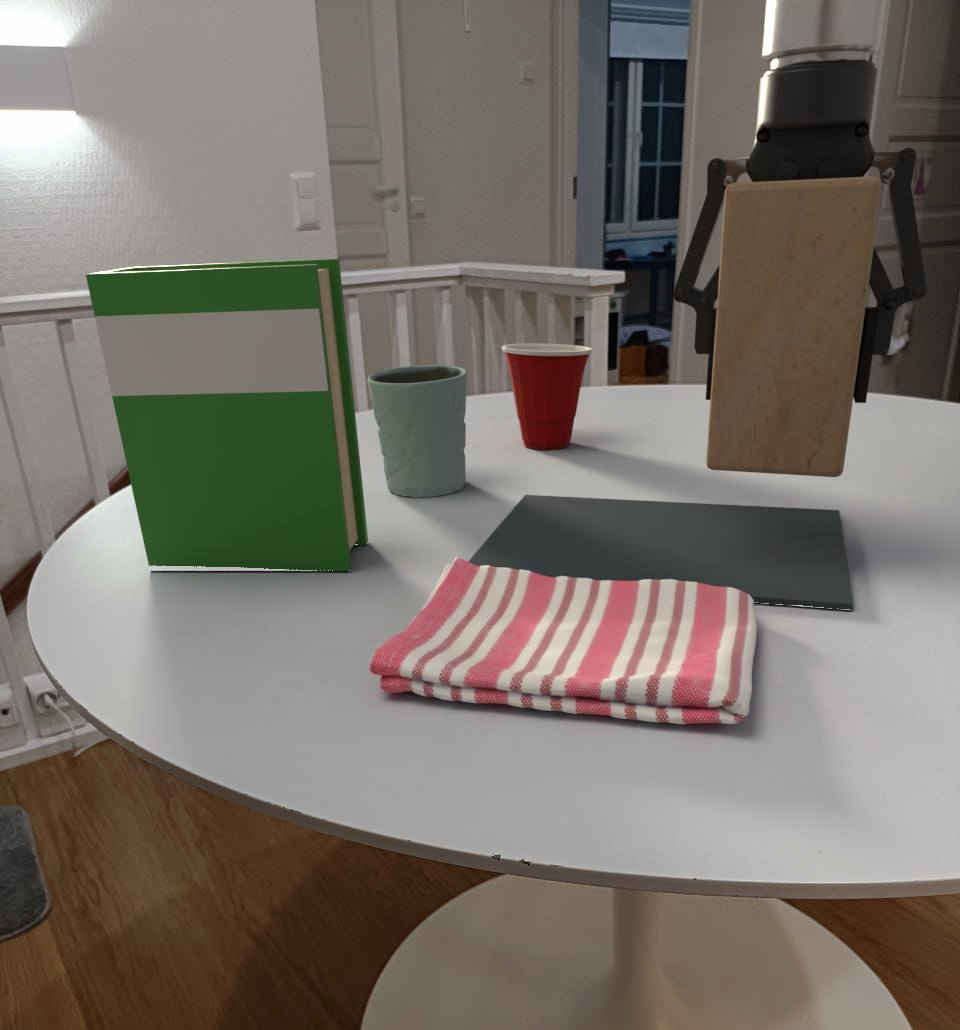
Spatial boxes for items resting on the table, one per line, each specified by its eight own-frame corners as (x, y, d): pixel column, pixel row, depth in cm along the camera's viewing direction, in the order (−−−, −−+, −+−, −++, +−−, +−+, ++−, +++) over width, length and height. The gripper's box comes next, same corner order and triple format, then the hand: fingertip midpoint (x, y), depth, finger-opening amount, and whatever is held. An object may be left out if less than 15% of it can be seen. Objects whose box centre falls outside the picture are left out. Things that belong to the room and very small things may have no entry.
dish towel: (447, 594, 71) (445, 552, 70) (756, 615, 65) (760, 570, 64) (366, 700, 57) (361, 650, 55) (754, 740, 51) (760, 685, 49)
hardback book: (368, 541, 83) (339, 258, 73) (348, 572, 77) (313, 265, 66) (184, 542, 85) (130, 267, 75) (150, 571, 79) (85, 274, 68)
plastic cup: (609, 442, 113) (612, 341, 107) (548, 460, 106) (548, 353, 101) (547, 429, 120) (546, 334, 115) (486, 445, 114) (482, 346, 108)
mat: (838, 516, 84) (839, 509, 84) (852, 611, 65) (853, 604, 65) (525, 500, 93) (525, 494, 92) (457, 580, 74) (457, 574, 74)
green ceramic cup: (489, 480, 100) (485, 367, 94) (434, 505, 92) (426, 385, 87) (416, 469, 105) (408, 362, 100) (358, 492, 98) (346, 378, 92)
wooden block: (722, 440, 79) (742, 183, 70) (846, 446, 75) (882, 176, 67) (704, 471, 71) (724, 183, 62) (841, 479, 67) (883, 175, 58)
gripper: (996, 55, 61) (937, 391, 71) (655, 82, 68) (643, 386, 77) (1020, 40, 55) (952, 411, 64) (640, 71, 61) (630, 404, 71)
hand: (783, 397), depth 71 cm, fingers closed on wooden block, 10 cm apart
